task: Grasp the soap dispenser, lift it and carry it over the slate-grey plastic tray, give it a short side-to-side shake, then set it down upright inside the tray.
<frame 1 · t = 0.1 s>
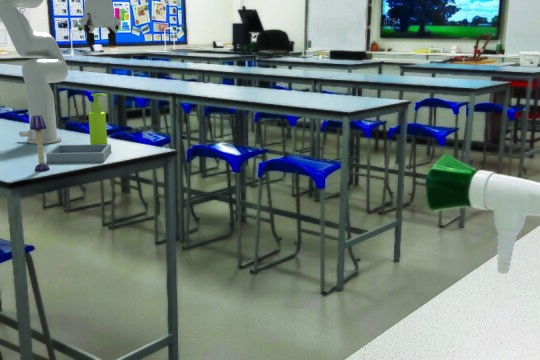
hand: (101, 44, 209), 37 cm above the lab bench, tool pointing down, fingers open, 9 cm apart
soap dispenser: (100, 149, 219), on the lab bench
tray: (80, 157, 203), on the lab bench
toy lamp: (42, 170, 185), on the lab bench
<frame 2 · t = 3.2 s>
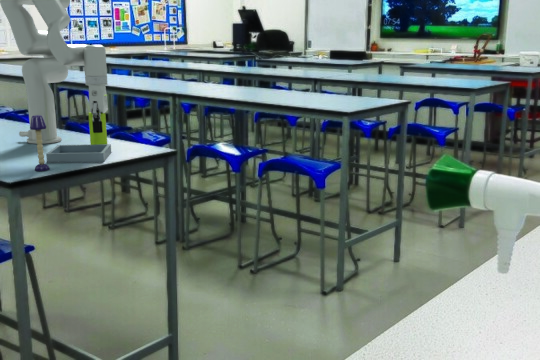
hand: (99, 130, 217), 7 cm above the lab bench, tool pointing down, fingers closed on soap dispenser, 6 cm apart
soap dispenser: (100, 149, 219), on the lab bench, touching gripper
everything else where it was.
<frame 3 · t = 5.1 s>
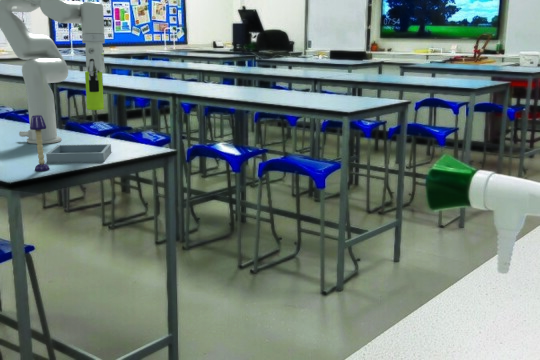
hand: (95, 90, 214), 21 cm above the lab bench, tool pointing down, fingers closed on soap dispenser, 6 cm apart
soap dispenser: (96, 109, 216), point 14 cm above the lab bench, touching gripper
everything else where it was.
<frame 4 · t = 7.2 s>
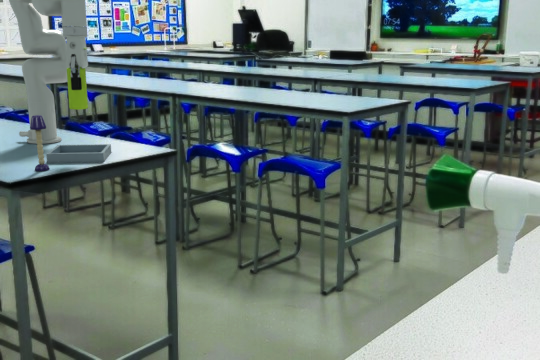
hand: (78, 88, 198), 23 cm above the lab bench, tool pointing down, fingers closed on soap dispenser, 6 cm apart
soap dispenser: (80, 109, 199), point 16 cm above the lab bench, touching gripper
everything else where it was.
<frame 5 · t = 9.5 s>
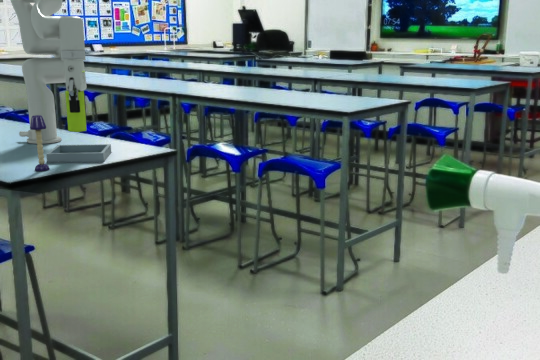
hand: (77, 110, 199), 16 cm above the lab bench, tool pointing down, fingers closed on soap dispenser, 6 cm apart
soap dispenser: (78, 131, 200), point 9 cm above the lab bench, touching gripper
everything else where it was.
when the fingers open (8 cm above the lab bench, at t = 11.3 s): soap dispenser drops 1 cm, resting on tray.
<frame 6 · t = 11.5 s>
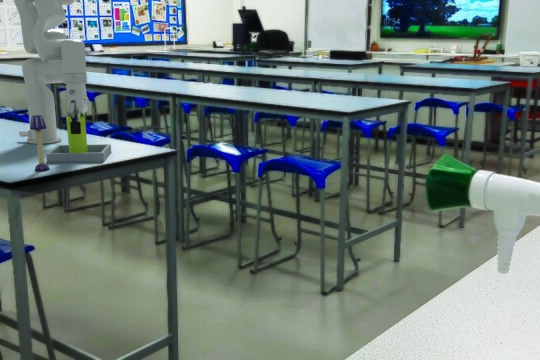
hand: (78, 131, 201), 9 cm above the lab bench, tool pointing down, fingers open, 7 cm apart
soap dispenser: (80, 156, 203), resting on tray
everything else where it was.
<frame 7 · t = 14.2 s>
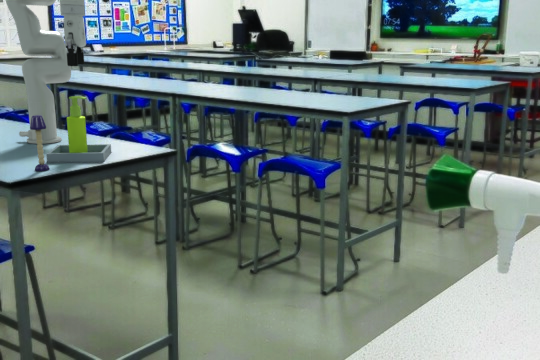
hand: (76, 65, 199), 31 cm above the lab bench, tool pointing down, fingers open, 9 cm apart
nothing on the lab bench moved.
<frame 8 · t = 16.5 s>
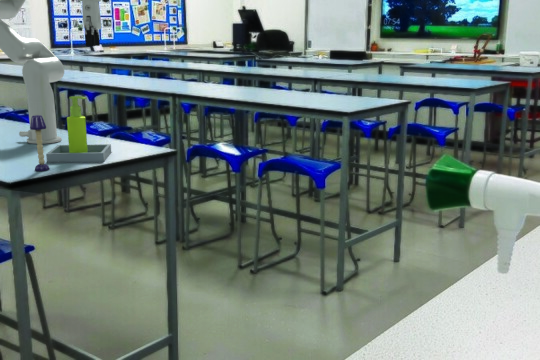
hand: (92, 46, 219), 36 cm above the lab bench, tool pointing down, fingers open, 9 cm apart
nothing on the lab bench moved.
at the end: soap dispenser inside the target area on the tray (0.1 cm from its centre), point 0.4 cm above the tray's base; soap dispenser tilted 0°; the gripper is holding nothing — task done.
